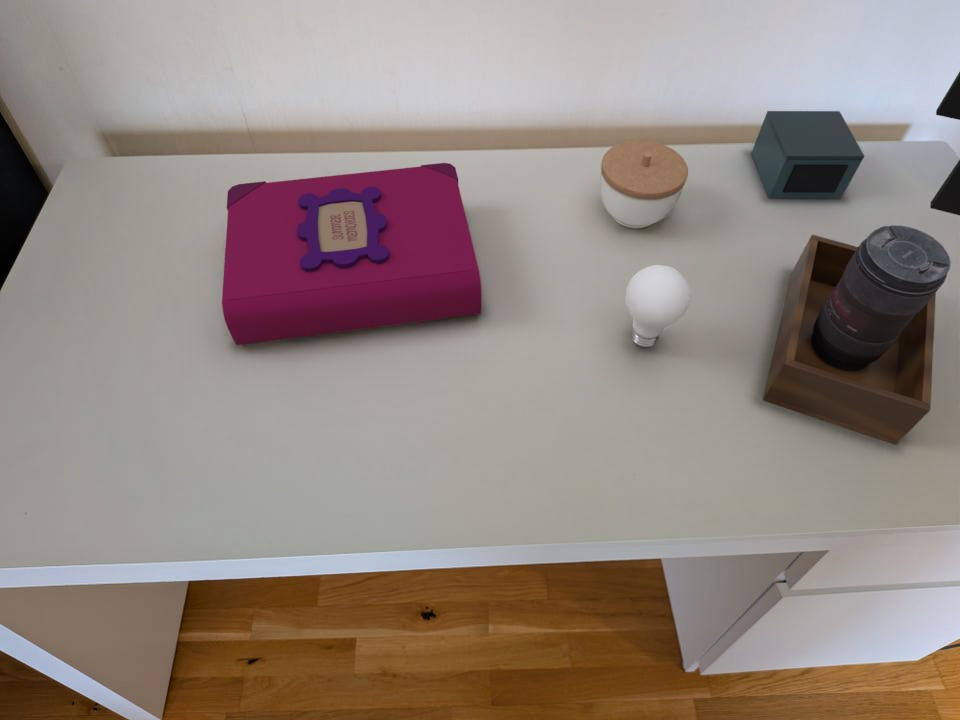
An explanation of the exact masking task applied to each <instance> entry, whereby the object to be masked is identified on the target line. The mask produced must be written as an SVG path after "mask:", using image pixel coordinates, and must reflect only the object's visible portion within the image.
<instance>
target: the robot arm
mask: <svg viewBox="0 0 960 720" xmlns="http://www.w3.org/2000/svg"><path fill="white" fill-rule="evenodd" d="M935 115H936V116H940V117H944V118H948V119H954V120H958V121H960V71H959V72H958V73H957V75H956V77H955V79H954V80H953V81H952V83H951V85H950V86H949V88H948V90H947V92H946V93H945V95H944V97H943V98H942V100H941V102H940V103H939V105H938V107H937V109H936V110H935ZM932 198H933V199H931V201H930V205H929V206H930V207H929V208H930V209H932V210H936V211H940V212H944V213H949V214H952V215H956V216H960V159H959V160H958V161H957V162H956V164H955V166H954V167H953V168H952V170H951V171H950V173H949V175H948V176H947V177H946V179H945V180H944V182H943V183H942V184H941V186H940V188H939V189H938V191H937V192H936V193H935V195H934V197H932Z"/></svg>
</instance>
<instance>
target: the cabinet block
mask: <svg viewBox="0 0 960 720" xmlns="http://www.w3.org/2000/svg"><path fill="white" fill-rule="evenodd" d="M759 129H760V130H759V132H758V134H757V137H756V139H755V142H754V145H753V147H752V149H751V153H750V155H751V158H752V160H753V162H754V165H755V168H756V170H757V172H758V173H757V174H758V175H759V177H760V180H761V182H762V185H763V188H764V190H765V192H766V195H767V198H768V199H769V200H770V199H772V200H773V199H774V200H775V199H777V200H779V199H781V200H782V199H784V200H785V199H791V200H792V199H796V200H797V199H809V200H810V199H812V200H813V199H814V200H815V199H816V200H818V199H821V200H822V199H824V200H827V199H831V200H832V199H834V200H836V199H837V200H838V199H839V200H840V199H842V198H843V196H844V194H845V192H846V191H847V189H848V187H849V185H850V184H851V182H852V180H853V178H854V176H855V175H856V172H857V170H858V169H859V167H860V165H861V163H862V161H863V160H864V158H865V155H864V153H863V151H862V149H861V147H860V146H859V143H858V141H857V139H856V138H855V136H854V135H853V132H852V131H851V130H850V128H849V125H848V124H847V122H846V120H845V119H844V117H843V115H842V113H841V111H840V110H767V111H766V114H765V116H764V119H763V121H762V124H761V127H760V128H759Z"/></svg>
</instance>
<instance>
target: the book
mask: <svg viewBox="0 0 960 720" xmlns="http://www.w3.org/2000/svg"><path fill="white" fill-rule="evenodd" d="M226 196H227V197H226V210H227V218H226V219H227V220H226V232H225V234H226V235H225V247H224V248H225V250H224V264H223V265H224V266H223V277H222V278H223V281H222V295H221V296H222V297H221V307H222V313H223V318H224V322H225V324H226V327H227V330H228V331H229V334H230V336H231V339H232V340H233V342H234V344H235V345H236V346H243V345H252V344H258V343H265V342H273V341H274V342H275V341H281V340H289V339H297V338H303V337H312V336H320V335H327V334H334V333H335V334H336V333H341V332H351V331H358V330H365V329H366V330H367V329H372V328H380V327H387V326H395V325H403V324H412V323H418V322H419V323H420V322H426V321H433V320H442V319H450V318H457V317H467V316H471V315H473V316H474V315H480V314H482V282H481V281H482V280H481V273H480V269H479V264H478V261H477V256H476V252H475V248H474V243H473V240H472V236H471V231H470V228H469V222H468V219H467V214H466V211H465V206H464V203H463V199H462V198H463V197H462V195H461V191H460V187H459V177H458V173H457V169H456V166H454V165H453V164H451V163H448V162H440V163H439V162H438V163H430V164H421V165H420V166H411V167H404V168H403V167H402V168H393V169H384V170H373V171H364V172H356V173H355V172H353V173H346V174H337V175H335V174H334V175H327V176H317V177H308V178H306V177H305V178H297V179H287V180H280V181H270V182H266V181H255V182H246V183H245V182H244V183H239V184H236V185H232V186H231V187H230V188H229V189H228V191H227V195H226Z"/></svg>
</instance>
